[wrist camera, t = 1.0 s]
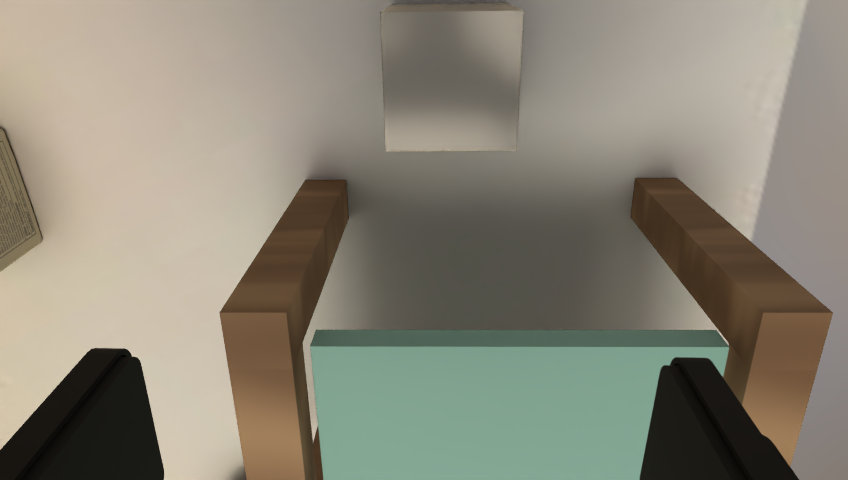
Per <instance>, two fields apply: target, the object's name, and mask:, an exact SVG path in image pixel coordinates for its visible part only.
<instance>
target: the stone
mask: <svg viewBox="0 0 848 480" xmlns="http://www.w3.org/2000/svg"><path fill="white" fill-rule="evenodd" d="M380 18H381V44H382V70H383V96H384V122H385V148H386V151H517V139H518V117H519V96H520V74H521V52H522V31H523V10H521V9H519V8H517V7H514V6H512V5H510V4H508V3H460V4H392V5H390V6H389V7H387V8H386V9H385V10H383V11H382V12H380Z"/></svg>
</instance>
